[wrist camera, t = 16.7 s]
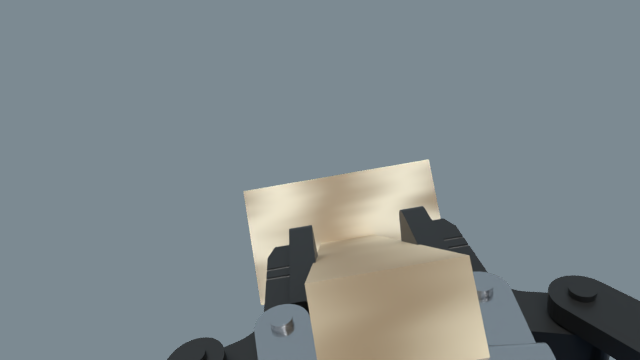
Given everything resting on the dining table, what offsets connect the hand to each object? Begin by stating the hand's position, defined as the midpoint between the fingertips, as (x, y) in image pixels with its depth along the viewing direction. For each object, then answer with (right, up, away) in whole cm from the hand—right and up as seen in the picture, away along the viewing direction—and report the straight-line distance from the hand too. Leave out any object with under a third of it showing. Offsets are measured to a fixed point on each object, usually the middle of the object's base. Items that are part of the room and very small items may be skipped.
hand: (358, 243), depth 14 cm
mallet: (+1, -3, +4) cm, 5 cm away
